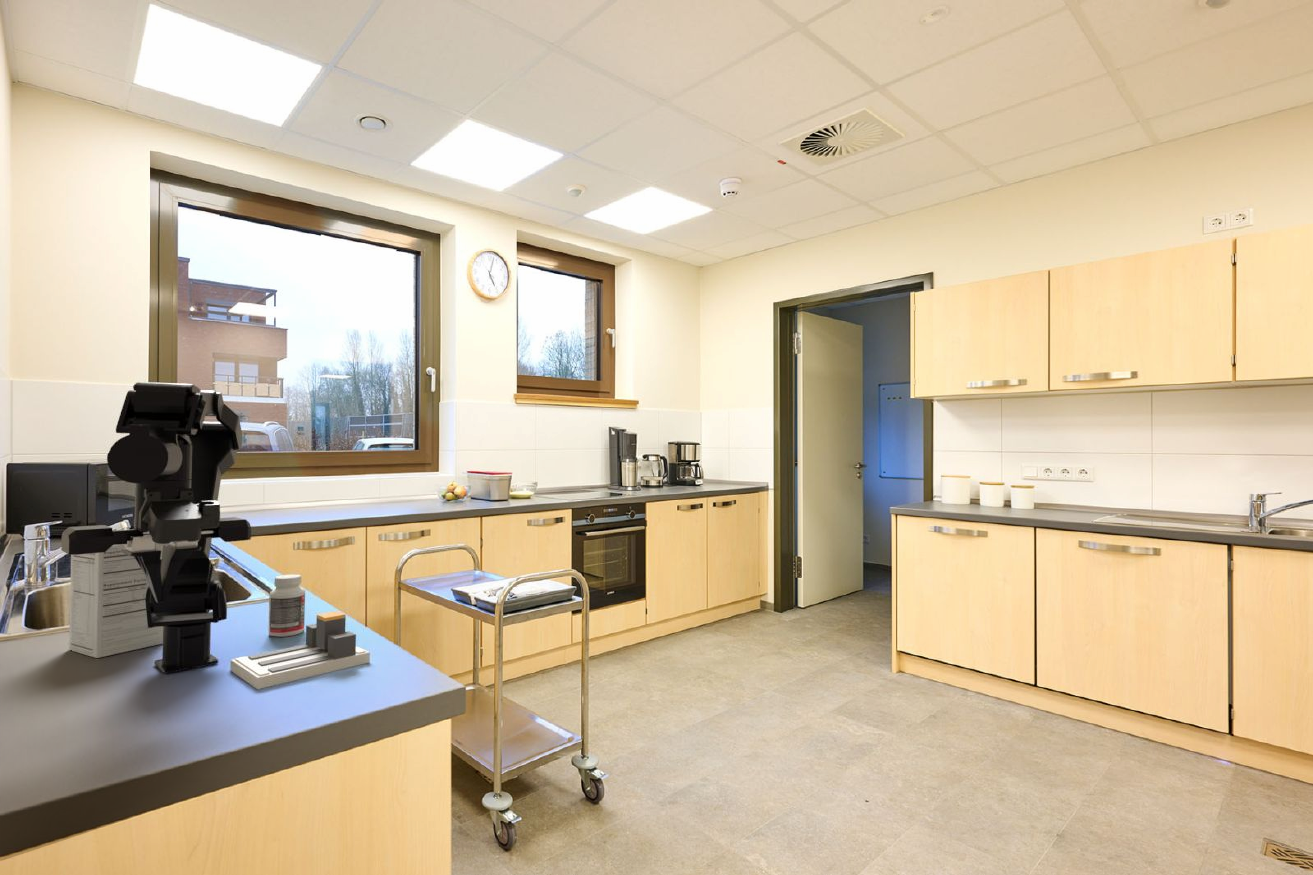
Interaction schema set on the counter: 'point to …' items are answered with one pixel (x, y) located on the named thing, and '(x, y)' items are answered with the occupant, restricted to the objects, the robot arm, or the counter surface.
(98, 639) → the supplement box
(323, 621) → the block
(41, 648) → the counter surface
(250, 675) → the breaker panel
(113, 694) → the counter surface
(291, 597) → the pill bottle
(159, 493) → the robot arm
